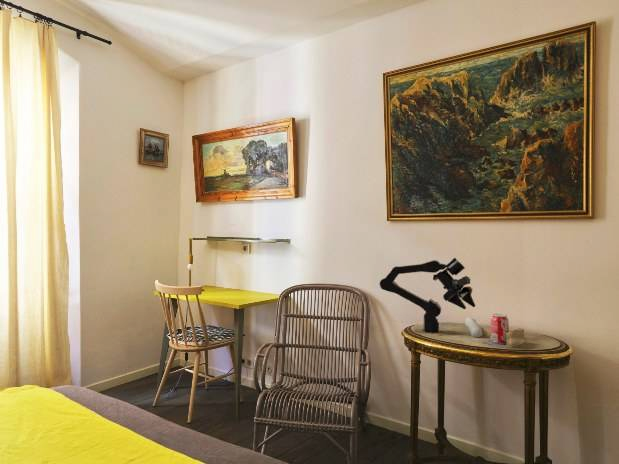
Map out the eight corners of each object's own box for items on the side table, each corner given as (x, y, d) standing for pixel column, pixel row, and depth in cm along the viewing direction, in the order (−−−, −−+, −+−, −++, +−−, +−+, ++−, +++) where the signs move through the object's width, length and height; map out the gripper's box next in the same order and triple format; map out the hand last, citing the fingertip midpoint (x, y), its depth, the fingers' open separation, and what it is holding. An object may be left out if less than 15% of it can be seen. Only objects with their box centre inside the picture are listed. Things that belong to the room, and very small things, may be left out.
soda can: (509, 342, 189) (509, 314, 189) (507, 345, 183) (507, 317, 183) (492, 340, 193) (492, 313, 193) (489, 343, 187) (489, 315, 187)
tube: (485, 330, 199) (477, 319, 223) (473, 325, 200) (467, 315, 224) (481, 341, 199) (473, 329, 223) (469, 336, 200) (463, 325, 225)
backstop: (506, 347, 182) (506, 333, 182) (519, 342, 192) (519, 328, 192) (511, 348, 181) (511, 333, 181) (524, 342, 190) (524, 329, 190)
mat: (482, 343, 189) (482, 342, 189) (492, 339, 196) (492, 338, 196) (505, 347, 182) (505, 346, 182) (515, 343, 189) (515, 342, 189)
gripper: (449, 271, 198) (472, 298, 190) (468, 269, 211) (491, 294, 203) (433, 287, 204) (455, 314, 196) (453, 284, 217) (474, 309, 209)
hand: (470, 307), depth 201 cm, fingers open, 9 cm apart
